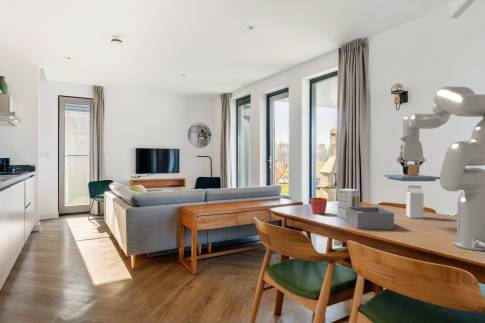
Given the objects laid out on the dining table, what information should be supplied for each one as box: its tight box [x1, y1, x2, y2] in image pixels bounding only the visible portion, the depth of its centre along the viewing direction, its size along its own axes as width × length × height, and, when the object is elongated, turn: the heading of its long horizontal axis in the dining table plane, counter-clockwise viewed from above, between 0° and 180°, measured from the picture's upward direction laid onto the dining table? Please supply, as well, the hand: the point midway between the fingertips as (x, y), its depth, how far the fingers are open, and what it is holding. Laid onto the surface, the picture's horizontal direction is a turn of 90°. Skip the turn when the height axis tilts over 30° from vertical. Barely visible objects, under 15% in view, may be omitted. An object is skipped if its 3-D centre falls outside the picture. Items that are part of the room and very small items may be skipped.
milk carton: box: [405, 185, 424, 219], centre depth 180 cm, size 7×7×19 cm
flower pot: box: [309, 197, 328, 216], centre depth 192 cm, size 11×11×10 cm
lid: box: [383, 163, 440, 182], centre depth 159 cm, size 19×19×8 cm
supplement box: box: [337, 188, 360, 220], centre depth 179 cm, size 10×9×17 cm
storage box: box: [345, 206, 395, 230], centre depth 159 cm, size 18×18×8 cm
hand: (410, 173), depth 159 cm, fingers closed on lid, 5 cm apart
